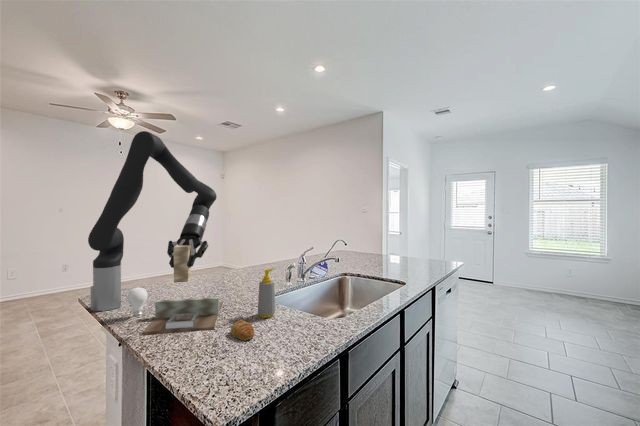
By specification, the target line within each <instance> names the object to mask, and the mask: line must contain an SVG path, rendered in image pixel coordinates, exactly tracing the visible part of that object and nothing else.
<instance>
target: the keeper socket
mask: <svg viewBox="0 0 640 426" xmlns="http://www.w3.org/2000/svg"><path fill="white" fill-rule="evenodd" d="M197 319H198V313H186V314H173V315H172V316H171V318H170V319H169V320H168V321H167V323H166V330H168V329H181V328H193V327H194V325H195V323H196V321H197ZM178 320H191V321H181V322H175V321H178Z"/></svg>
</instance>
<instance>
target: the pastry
mask: <svg viewBox="0 0 640 426" xmlns="http://www.w3.org/2000/svg"><path fill="white" fill-rule="evenodd" d="M230 333H231V335H232V337H234V338H235V337H236V338H235V339H237V338H238V339H237V340H239V339H240V341H245V342H246V341H248V340H251V339H254V336H255V329H254V327H253V325H252V324H251V322H249V321H245V320H241V319H240V320H238V321H236V322H234V323H233V325H232V326H231V328H230Z"/></svg>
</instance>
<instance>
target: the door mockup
mask: <svg viewBox="0 0 640 426" xmlns="http://www.w3.org/2000/svg"><path fill="white" fill-rule="evenodd" d="M223 303H224V301H220V297H219V296H212V297H209V296H207V297H194V298H193V297H192V298H175V299H157V300H155V302H154V308H155V309H154V311H155V312H154V318H153V320H152V321H151V322H150V323H149V324H148V326H147V327H145V328H144V330H143V331H142V332H141V334H142V336H151V335H154V336H155V335H165V334H177V333H178V334H179V333H180V334H181V333H188V332H189V333H190V332H202V331H204V332H205V331H214V330H215V328H216V327H215V325H216V322H217V320H218V317H219V315H220V312H221V309H222V307H223V306H222V305H223ZM186 313H198V319H197V321H196V323H195V325H194V327H193V328H181V329H168V330H166V323H167V321H168V320H169V319H170V318H171V316H172V315H173V314H186ZM181 321H191V320H178V321H175V322H181Z"/></svg>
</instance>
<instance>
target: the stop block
mask: <svg viewBox="0 0 640 426" xmlns="http://www.w3.org/2000/svg"><path fill="white" fill-rule="evenodd" d="M190 248H191V245H181V246H178V245H176V246H175V247H174V268H173V283H188V282H190V281H191V279H192V267H191V268H188V266H187V263H188V260H189V257H190V256H191V250H190Z"/></svg>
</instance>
